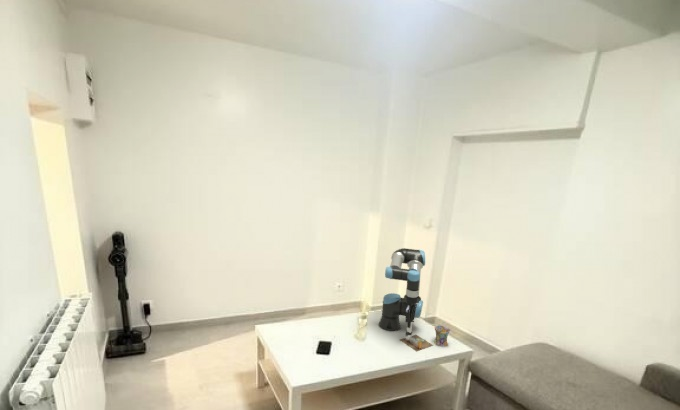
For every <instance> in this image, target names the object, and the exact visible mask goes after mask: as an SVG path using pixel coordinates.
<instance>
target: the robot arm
mask: <svg viewBox="0 0 680 410" xmlns="http://www.w3.org/2000/svg"><path fill="white" fill-rule="evenodd" d="M390 259H391V262H390V266H386V268H385V272H384V275H385V276H384V277H385V278H386V279H389V280H396V281H404V282H406V289H405V290H406V291H405V294H404V296H403V297H402V296H401V295H400V294H398V293H394V292H393V293H388V294H387V293H386V294H385V295H384V296H383V298H382V299H383V300H382V309H381V317H380V320H379V321H378V327H379V328H380V329H381V330H383V331H385V332H397V331H400V330H401V328H402V325H401V321H400V316H403V317H405V322H406V333H407V332H409V333H411V332H412V330H413V329H412V328H413V323H414V322H415V319H419V318H421V316H422V311H423V305H424V300H422V297H421V296H420V288H421V287H420V285H421V272H422V269H423V267H425V265H426V254H425V251H424V250H421V249H414V248H405V247H403V248H399V249H397V250H395V251H393V253H392V255H391V258H390ZM403 264H404V265H407V267H408V269H407V268H402V265H403ZM412 333H413V332H412Z"/></svg>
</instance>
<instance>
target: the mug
mask: <svg viewBox="0 0 680 410" xmlns="http://www.w3.org/2000/svg"><path fill="white" fill-rule="evenodd" d="M434 330H435V339H434V341H433V343H434V344H435V345H436V346H438V347H442V348H446V347H447V346H449V343H448V335H449V334H450V332H451V330H450V328H449V327H447V326H444V325H435V326H434Z"/></svg>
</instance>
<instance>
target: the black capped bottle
mask: <svg viewBox="0 0 680 410" xmlns="http://www.w3.org/2000/svg"><path fill="white" fill-rule="evenodd" d="M412 336H413V332H411V333H409V332H407V331H406V332H405V337H404V338H405V341H406V342H410V343H411V344H413V345H414V346H416V347H417V348H419V349H421V344H422V342H421V341H419V340H417V339H415V338H414V337H412Z"/></svg>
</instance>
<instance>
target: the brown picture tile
mask: <svg viewBox="0 0 680 410" xmlns="http://www.w3.org/2000/svg"><path fill="white" fill-rule="evenodd" d="M412 337H414V338H415V339H417V340H419V341H421V342H422V344H421V349H419V348H417V347H416V346H414V345H413V344H411V343H410V342H406V341H405V337H404V338H400V339H399V341H400V342H402V343H403V344H405V345H406V346H407V347H409V348H410V349H412V350H413V351H415V352H419V351H421V350H425V349H428V348H430V347H433V346H434V344H432V343H430V342H429V341H427V340H426V339H424V338H423V337H420V336H419V335H417V334H414V335H413V334H412Z"/></svg>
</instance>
